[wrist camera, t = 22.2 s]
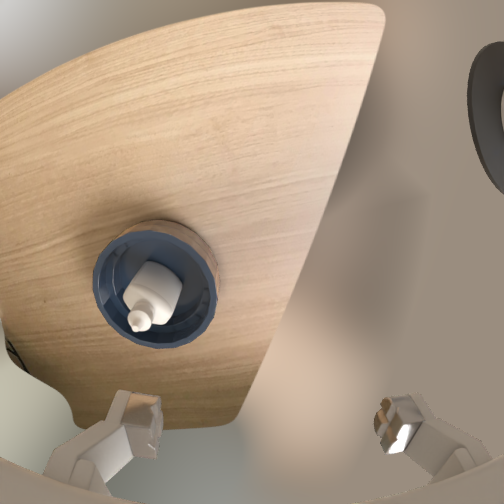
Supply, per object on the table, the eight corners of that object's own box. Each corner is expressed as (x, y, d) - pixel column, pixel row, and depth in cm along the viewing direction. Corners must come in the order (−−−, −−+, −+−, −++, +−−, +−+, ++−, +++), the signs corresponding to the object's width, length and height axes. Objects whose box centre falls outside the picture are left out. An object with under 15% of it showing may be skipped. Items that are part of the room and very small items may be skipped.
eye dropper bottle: (165, 251, 38) (138, 295, 26) (187, 289, 40) (170, 344, 28) (136, 265, 38) (101, 311, 27) (158, 302, 40) (133, 358, 29)
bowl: (230, 232, 38) (229, 246, 33) (208, 334, 42) (205, 359, 37) (113, 208, 36) (96, 219, 31) (106, 311, 41) (92, 332, 36)
